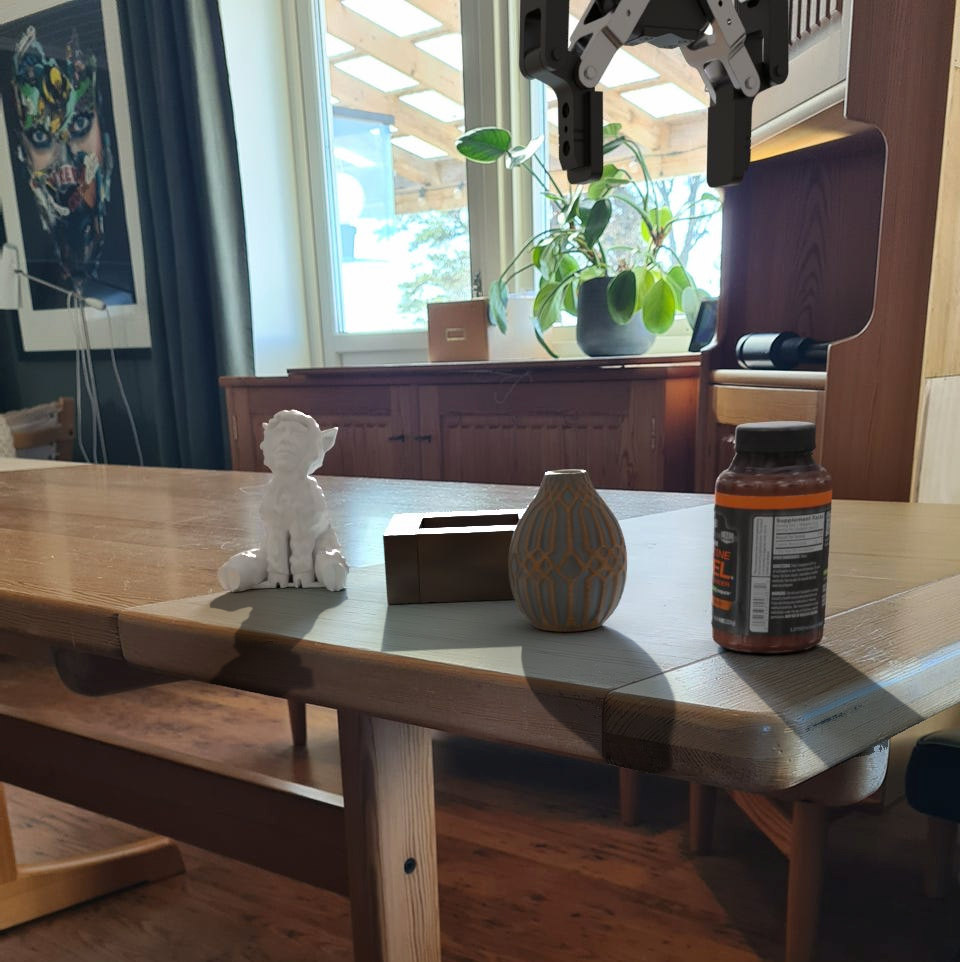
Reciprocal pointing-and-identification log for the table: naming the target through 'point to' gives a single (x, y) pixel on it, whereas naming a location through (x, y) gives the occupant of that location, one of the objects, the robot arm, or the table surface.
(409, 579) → the holder
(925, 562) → the table surface
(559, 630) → the vase
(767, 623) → the supplement bottle
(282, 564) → the seated beast figurine
